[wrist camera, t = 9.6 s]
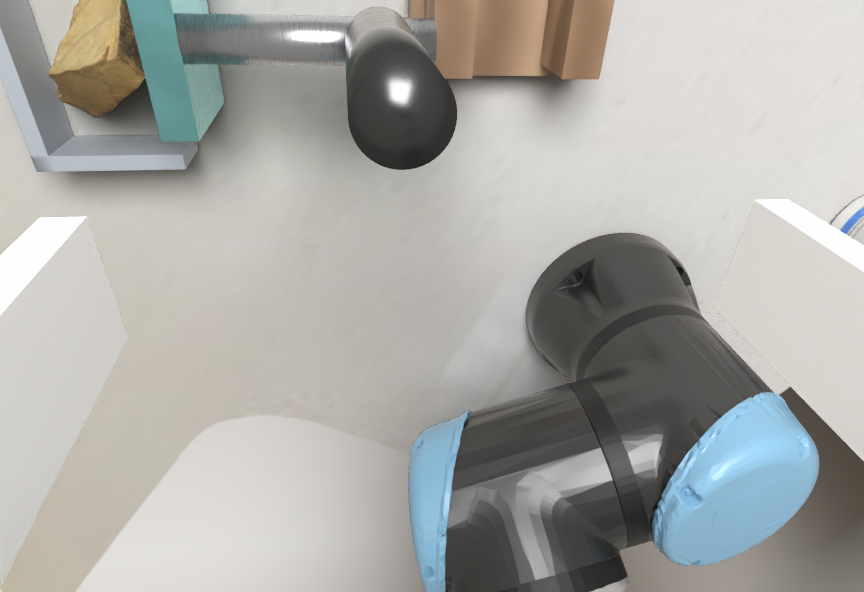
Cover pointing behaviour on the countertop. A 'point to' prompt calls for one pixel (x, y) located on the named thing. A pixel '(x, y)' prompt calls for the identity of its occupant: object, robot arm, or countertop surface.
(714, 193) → the countertop surface
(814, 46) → the countertop surface
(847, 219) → the supplement tub
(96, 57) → the rock
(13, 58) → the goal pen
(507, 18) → the rod stand
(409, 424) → the countertop surface
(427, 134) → the lever handle
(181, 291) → the countertop surface
